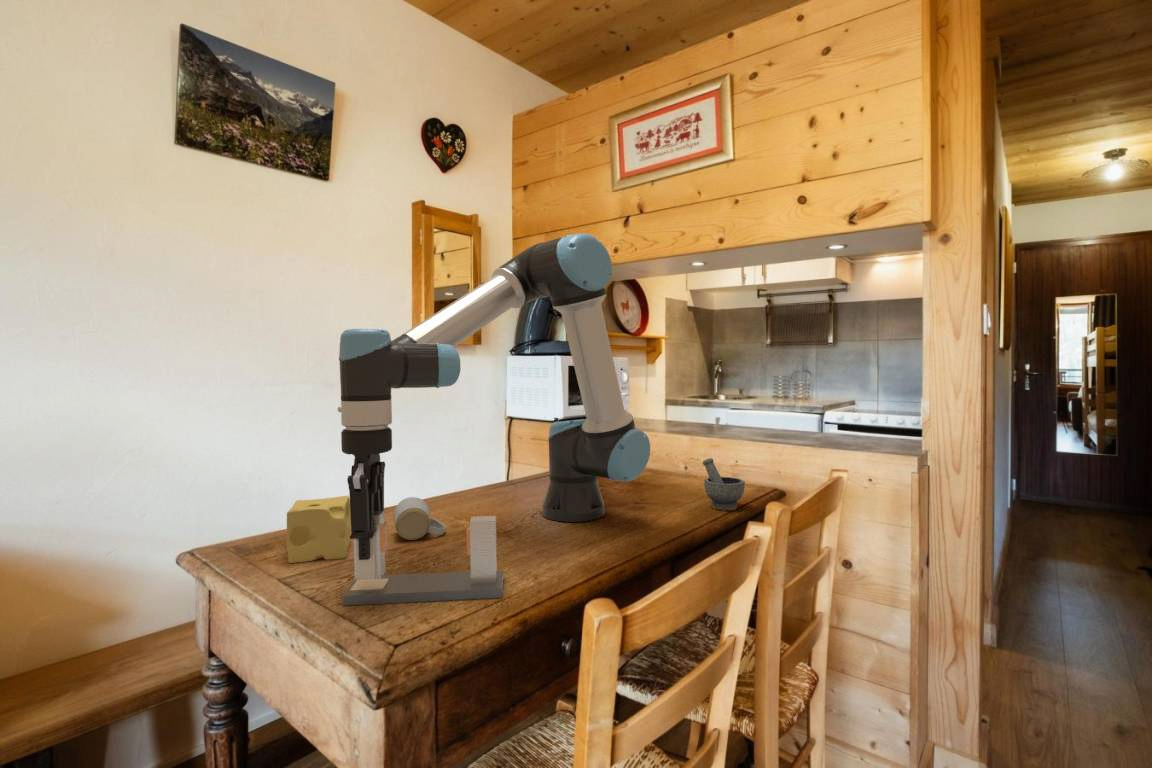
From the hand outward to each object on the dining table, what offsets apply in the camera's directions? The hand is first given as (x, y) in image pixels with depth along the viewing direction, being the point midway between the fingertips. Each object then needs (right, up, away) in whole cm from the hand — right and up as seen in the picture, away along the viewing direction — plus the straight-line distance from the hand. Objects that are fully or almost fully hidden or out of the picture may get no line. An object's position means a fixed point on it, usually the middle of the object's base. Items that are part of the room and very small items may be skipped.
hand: (369, 573), depth 90 cm
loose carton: (0, 0, 0) cm, 0 cm away
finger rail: (+9, -3, +1) cm, 10 cm away
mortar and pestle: (+70, -1, +54) cm, 88 cm away
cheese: (-17, -3, +21) cm, 27 cm away
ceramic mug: (-1, -3, +32) cm, 32 cm away
